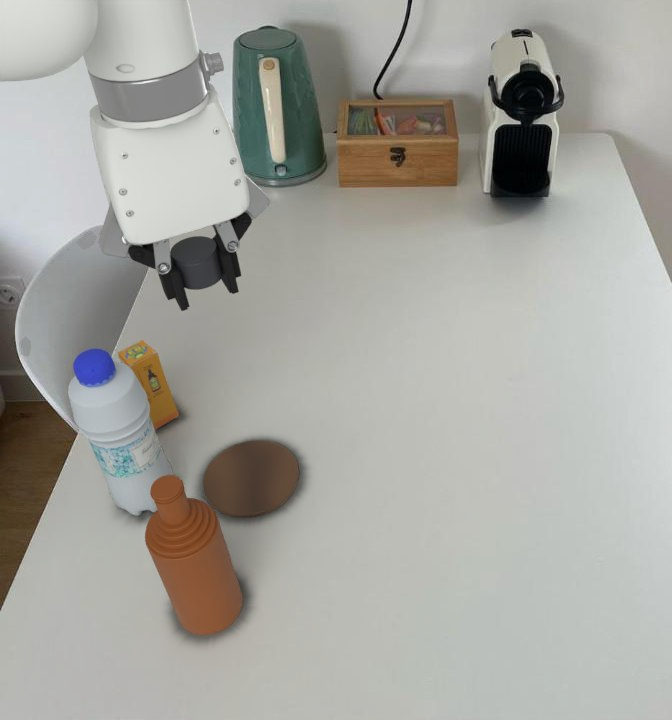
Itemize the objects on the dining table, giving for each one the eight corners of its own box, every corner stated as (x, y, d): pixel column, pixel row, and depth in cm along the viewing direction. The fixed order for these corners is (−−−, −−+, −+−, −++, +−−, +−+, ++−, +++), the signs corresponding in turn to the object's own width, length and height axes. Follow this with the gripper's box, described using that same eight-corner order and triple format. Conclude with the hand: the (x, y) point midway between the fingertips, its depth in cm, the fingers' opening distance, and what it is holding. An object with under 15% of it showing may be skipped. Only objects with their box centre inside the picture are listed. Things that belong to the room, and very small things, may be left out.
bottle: (165, 526, 82) (109, 385, 68) (103, 519, 83) (35, 378, 69) (189, 474, 86) (141, 333, 73) (130, 468, 87) (71, 327, 74)
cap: (218, 259, 69) (211, 231, 68) (227, 282, 67) (220, 254, 65) (174, 270, 69) (166, 242, 67) (182, 294, 66) (174, 266, 64)
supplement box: (166, 401, 95) (144, 336, 88) (180, 417, 93) (159, 352, 86) (140, 415, 93) (116, 350, 86) (154, 431, 91) (130, 367, 84)
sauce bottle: (189, 647, 72) (138, 530, 60) (169, 595, 76) (117, 476, 64) (252, 615, 74) (215, 497, 62) (229, 566, 78) (190, 446, 66)
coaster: (221, 533, 81) (220, 529, 80) (192, 465, 87) (190, 462, 87) (313, 493, 84) (313, 489, 84) (278, 431, 91) (277, 427, 90)
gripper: (245, 41, 61) (280, 242, 74) (18, 93, 56) (97, 300, 69) (282, 76, 56) (312, 285, 69) (37, 138, 51) (118, 352, 64)
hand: (204, 291), depth 69 cm, fingers closed on cap, 3 cm apart
